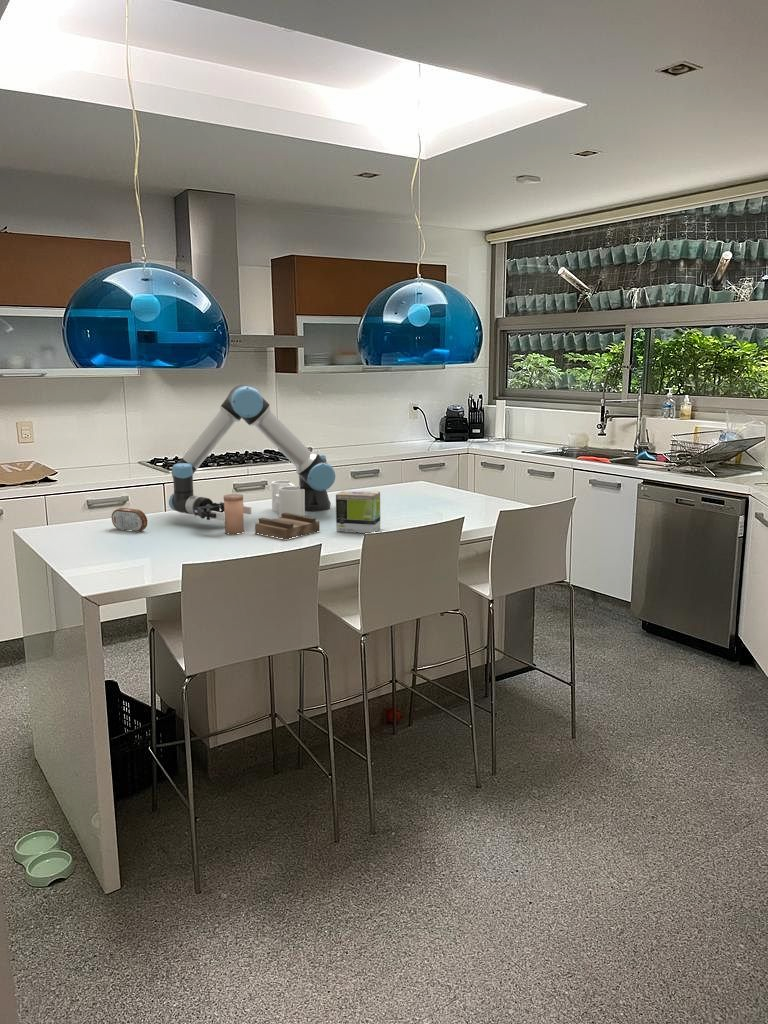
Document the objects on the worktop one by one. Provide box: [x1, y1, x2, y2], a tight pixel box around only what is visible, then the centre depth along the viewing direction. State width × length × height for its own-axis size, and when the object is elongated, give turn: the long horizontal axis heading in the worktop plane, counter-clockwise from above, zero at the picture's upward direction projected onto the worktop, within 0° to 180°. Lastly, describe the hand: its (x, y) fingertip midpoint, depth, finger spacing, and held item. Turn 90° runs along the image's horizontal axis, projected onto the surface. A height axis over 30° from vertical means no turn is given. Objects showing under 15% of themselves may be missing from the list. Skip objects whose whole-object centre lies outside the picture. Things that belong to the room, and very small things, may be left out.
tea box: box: [335, 489, 381, 534], centre depth 304 cm, size 15×10×15 cm
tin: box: [111, 507, 148, 532], centre depth 302 cm, size 15×3×8 cm, turn 68°
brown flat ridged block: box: [254, 513, 321, 539], centre depth 300 cm, size 18×16×6 cm
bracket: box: [271, 480, 306, 518], centre depth 333 cm, size 25×10×12 cm, turn 21°
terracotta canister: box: [223, 493, 245, 535], centre depth 299 cm, size 7×7×14 cm
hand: (237, 513), depth 298 cm, fingers open, 13 cm apart
